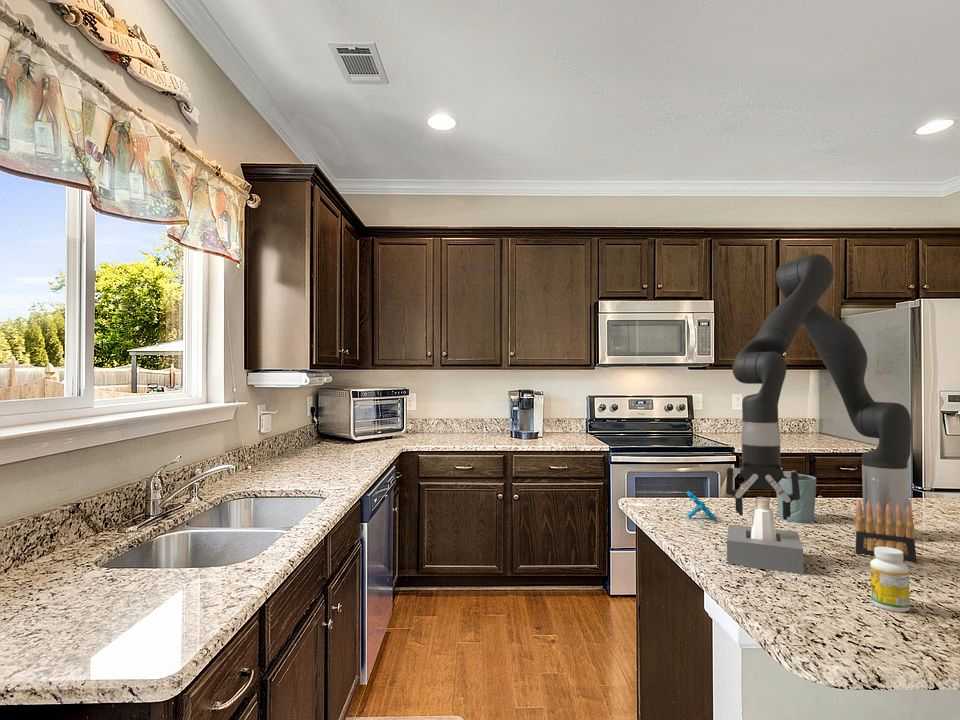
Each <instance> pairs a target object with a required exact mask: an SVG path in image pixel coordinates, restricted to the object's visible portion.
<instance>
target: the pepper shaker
mask: <svg viewBox="0 0 960 720" xmlns="http://www.w3.org/2000/svg"><path fill="white" fill-rule="evenodd" d="M770 502H771V499H770V498H769V497H766V496H765V497H764V496H757V497H755V505H756V507H755V508H753V510H752V511H753V512H752V522H751V527H752V530H751V538H752V539H761V540H769V541H777V539H776V531H775V529H776V525H775V517H774V511H773V510H772V509H770Z"/></svg>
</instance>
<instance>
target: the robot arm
mask: <svg viewBox="0 0 960 720" xmlns="http://www.w3.org/2000/svg"><path fill="white" fill-rule="evenodd" d="M775 272H776V273H775V279H776V285H777V286H778V289H779V290H780V292H781V294H782V296H783V298H784V300H783V301H782V302H781V303H780V304H779V305H777V306H776V307H775V308H774V309H773V310H772V311H771V312H770V313H769V314H768V316H767V317H766V318H765V319H764V322H763V323H762V325H761V327H760V328H759V331H758V332H757V334H756V336H755V337H754V338H753V339H752V340H750V341H749V342H748V343H747V344H746V345H745V346H744V347H743V348H742V349H741V350H740V351H739V352H738V354H737V355H736V356H735V358H734V360H733V363H732V374H733V377H734V378H735V379H736V380H737V381H738V382H739V383H742V384H745V385H747V384H748V385H750V384H751V385H752V384H753V385H757V384H760V385H761V387H760V389H759V392H757V393H753V394H748V395H745V396H744V397H743V398H742V401H741V402H742V403H741V409H742V412H741V414H742V426H741V438H740V440H741V458H742V459H741V462H742V466H741V467H740V468H738V467H732V466H727V469H726V484H725V485H726V487H725V488H726V489H725V492H726V494H727V496H728V495H729V496H732V497H733V498H734V500H735V512H736V513H738V514H739V515H738V516H741V517H742V516H743V515H744V512H743V511H744V509H743V508H744V507H743V505H744V504H743V495H744V494H745V493H746V492H747V491H748V490H749V488H752V489H754V490H760V489H762V490H765V491H771V490H773V489H774V491H775V492H777V493H778V494H779V495H780V496H781V497H782V499H783V500H782V503H783V519H784V520H787V517H790V515H791V510H790V503H791V502H792V501H794V500H799V499H800V492H799V482H798V474H799V473H798V472H797V471H796V470H795V469H793V470H790V471H787V470H784V471H783V469H782V461H781V459H782V458H781V442H782V441H781V431H780V426H779V407H778V406H779V400H780V398H781V397H780V396H781V392H782V390H783V385H784V381H785V378H786V374H787V363H786V361H785V359H784V357H783V356H782V355H784V354H785V353H786V352H787V351H788V349H789V348H790V345H791V343H792V342H793V339H794V338H795V336H796V334H797V331H798V329H799V328H800V326H801V325H803V328H804V329H805V331H806V333H807V334H808V336H809V337H810V339H811V341H812V343H813V346H814V347H815V350H816V352H817V353H818V355H819V357H820V359H821V361H822V363H823V364H824V366H825V368H826V370H828V373H829V374H830V377H831V378H832V380H833V382H834V384H835V387H836V388H837V390H838V393H839V394H840V396H841V398H842V402H843V405H844V406H845V409H846V412H847V414H848V416H849V419H850V421H851V423H852V426H853V427H854V430H855V431H856V432H858V433H859V434H860V435H861V436H863V437H866V438H870V439H871V438H872V439H873V438H874V439H878V445H877V447H876V448H875V449H874V450H870V451H866V452H863V453H862V454H861V476H862V477H861V478H862V479H861V480H862V481H861V482H862V503H863V504H862V510H863V518H864V530H865V517H866V505H867V502H868V501H870V503H871V506H872V514H873V520H874V532H875V518H876V506H877V503H878V502H880V504H881V507H882V515H883V521H884V533H885V515H886V506H887V504H888V503H889V504H890V506H891V509H892V516H893V522H894V534H895V517H896V507H897V505H898V504H899V505H900V506H901V510H902V517H903V523H904V535H905V518H906V509H907V506H908V505H910V507H911V510H912V509H913V508H912V507H913V506H912V501H911V499H910V497H909V474H908V466H909V465H908V463H909V460H910V457H911V452H912V450H911V446H912V445H911V444H912V440H911V439H912V420H911V419H912V417H911V413H910V412H909V410H908V408H907V407H906V406H904V405H903V404H901V403H897V402H885V401H875V400H874V399H873V398H872V396H871V394H870V393H869V391H868V389H867V387H866V383H865V375H866V371H867V366H868V354H867V351H866V349H865V346H864V345H863V344H862V341H861V339H860V338H859V336H858V334H857V332H856V331H855V330H854V329H853V328H852V327H851V326H849V324H847V323H846V322H845V321H843V320H841V319H840V318H837V317H836V316H834V315H833V314H831V313H829V312H828V311H826V310H825V309H824V308H822V307H821V306H820V305H819V303H818V302H819V300H821V298H822V297H823V296H824V295H825V293H826V292H827V291H828V290H829V288H830V287H831V285H832V283H833V280H834V276H835V269H834V266H833V264H832V262H831V260H830V259H829V258H828V257H827V256H825V255H824V254H823V253H822V254H821V253H820V254H819V253H815V254H809V255H805V256H803V257H800V258H798V259H797V258H796V259H795V260H794V259H793V260H791V261H788V262H786V263H783V264H781V265H780V266H778V268H777V269H776V271H775ZM738 474H740V475H741V477H742V478H743V480H744V481H743V482H742V483H741V485H740V486H739V488H738V489H734V488H733V486H734V485H733V482H734V480H733V479H735V478H736V477H737V476H738ZM783 476H785V477H787V480H788V481H790V482H791V483H792V494H787V493H786V492H785V491H784V489H783V488H782V487H781V486H780V484H779V481H780V480H781V479H782V478H783ZM777 493H776V494H777ZM912 511H913V510H912ZM784 520H783V521H784Z"/></svg>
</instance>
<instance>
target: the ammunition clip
mask: <svg viewBox="0 0 960 720" xmlns="http://www.w3.org/2000/svg"><path fill="white" fill-rule="evenodd" d="M855 510H856V511H855V518H854V521H855V522H854V523H855V529H854V530H855V554H856V553H857V554H856V555H860V554H864V555H863V556H867V555H871V556H870V557H874V556H875V555H874V548H875V547H890V548H894V549H898V550H901V551H902V552H903V558H904V559H903V561H902V562H907V561H908V563H915V564H916V563H917V562H918V561H917V552H916V538H915V535H916V533H915V524H914V518H913V517H914V516H913V510H911V507H910V505H908V506H907V509H906V518H905V535H904V523H903V517H902V510H901V506H900V505H899V504H898V505H897V507H896V517H895V534H894V522H893V516H892V509H891V506H890V504H889V503H888V504H887V506H886V515H885V533H884V521H883V515H882V507H881V504H880V502H878V503H877V506H876V518H875V532H874V520H873V514H872V506H871V503H870V501H868V502H867V505H866V517H865V530H864V516H863V504H862V501H861V500H860V499H858V500H857V502H856V506H855ZM874 558H877V557H876V556H875V557H874Z"/></svg>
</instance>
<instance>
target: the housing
mask: <svg viewBox="0 0 960 720" xmlns="http://www.w3.org/2000/svg"><path fill="white" fill-rule="evenodd" d="M751 530H752V526H749V525H748V526H747V525H737V524H731V523H730V524H728V527H727V535H726V564H727V565H731V564H736V565H735V566H738V565H743V566H742V567H745V566H749V567H748V568H753V567H754V568H755V569H762V570H768V571H775V570H780V571H779V572H783V571H786V572H785V573H790V572H792V574H797V573H799V574H798V575H805V573H804V572H805V571H804V570H805V569H804V565H805V564H804V547H803V545H802V542H801V539H800V536H799V532H798V531H796V530H786V529H776V528H775V531H776V539H777V541H769V540H761V539H752V538H751Z"/></svg>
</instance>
